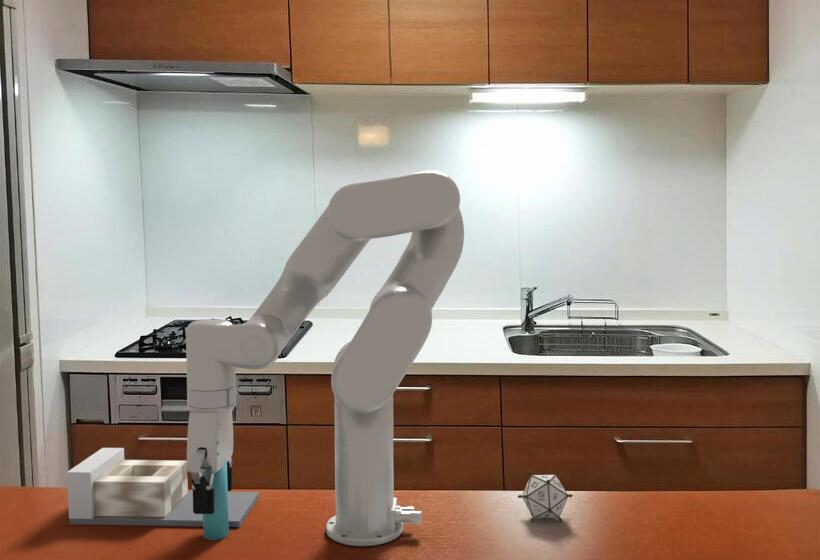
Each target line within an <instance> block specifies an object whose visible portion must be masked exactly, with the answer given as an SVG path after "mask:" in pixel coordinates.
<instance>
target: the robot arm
mask: <svg viewBox="0 0 820 560" xmlns="http://www.w3.org/2000/svg"><path fill="white" fill-rule="evenodd" d="M460 203H461V194H460V190H459V187H458V185H457V183H456V182H455V181H454V180H453V179H452V177H450V176H449V175H447V174H446V173H444V172H441V171H439V170H424V171H420V172H419V171H418V172H414V173H410V174H409V173H408V174H403V175H400V176H399V175H398V176H393V177H392V176H391V177H389V178H384V179H383V178H382V179H377V180H371V181H364V182H355V183H350V184H346V185H344V186H342V187H340V188H339V189H338V190H336V191H335V193H334V194H332V197H331V199H330V201H329V204H328V205H327V207H326V208H325V209H324V210H323V212H322V213H321V215H320V216H319V217H318V218H317V220H316V222H315V223H314V224H313V226H312V227H311V228H310V229H309V231H308V233H306V235H305V237H304V238H303V239H302V240H301V241H300V243H299V244H298V245H297V247H296V248H295V249H294V251H293V252H292V253H291V255H290V256H289V258H288V259H287V261H286V262H285V265H284V269H283V271H282V272H281V275H280V277H279V279H278V280H277V282H276V283H275V284H274V286H273V288H272V289H271V290H270V292H269V293H268V295H267V296H266V297H265V299H264V300H263V301H262V303H260V305H259V307H258V308H257V309H256V311H255V312H254V313H253V315H252V316H251V317H250V318H249V319H248V320H247V321H246V322H244V323H239V324H237V323H236V324H233V323H232V322H231V321H229V320H227V319H226V320H225V319H218V318H216V319H215V318H209V319H208V318H207V319H198V320H194V321H192V322H190V323H189V324H188V325H187V328H186V330H185V343H186V344H185V346H186V347H185V348H186V350H185V354H186V398H187V407H186V408H187V409H188V410H189V416H188V422H187V423H188V425H187V436H186V437H187V438H186V439H187V440H186V444H187V445H186V461H187V473H189V474H191V480H190V481H191V483H192V485H191V491H193V513H194V514H213V513H214V488H212V483H213V478H214V474H215V473H216V472H218V471H219V470H220V469H221V468H222V467H223V466H224V464H225V463H226V462H227V486H228V492H232V490H233V466H232V465H233V460H232V456H233V453H234V424H233V423H234V422H233V408H235V407H236V406H237V402H236V401H237V389H236V388H237V385H236V384H237V382H236V368H238V369H244V370H251V371H253V370H255V371H256V370H263V369H266V368H268V367H270V366H271V365H273V364H275V362H276V361H277V359H278V358H279V356H280V355H281V353H282V352H283V350H284V349H285V347H286V346H287V344H288V343H289V342H290V340H291V339H292V338H293V336H294V335H295V333H296V332H297V331H298V330H299V328H300V327H301V325H302V324H303V323H304V322H305V320H306V319H307V318H308V316H309V315H310V314H311V313H312V312H313V310H314V309H315V308H316V306H317V305H318V304H319V303H320V302H321V301H322V300H323V299H325V298H326V297H327V296H328V295H329V294H330V293H331V292H332V291H333V289H334V288H336V285H338V283H339V282H340V280H341V279H342V277H343V276H344V275H345V274H346V272H347V271H348V269H349V268H350V267H351V266H352V264H353V263H354V262H355V261H356V259H357V258H358V257H359V255H360V254H361V252H363V250H364V248H365V247H366V246H367V244H368V243H369V242H370V240H372V239H379V238H380V239H381V238H387V237H392V236H397V235H403V234H410V233H411V236H410V240H409V242H408V244H407V246H406V247H405V249H404V250H403V252H402V254H401V256H400V258H399V259H398V262H397V263H396V265H395V266H394V268H393V270H392V271H391V273H390V275H389V276H388V278H387V279H386V280H385V282H384V284H383V285H382V287H380V289H379V290H378V291H377V293H376V294H375V295H374V297H373V299H372V300H371V304H369V305H370V306H369V311H368V312H367V314H366V316H365V317H364V319H363V321H362V322H361V324H360V326H359V327H358V329H357V331H356V332H355V334H354V335H353V337H352V339H351V340H350V341H349V342H347V343H346V344H344V345H343V346H342V347H341V348H340V349H339V350H338V353H337V354H336V355H335V356H336V357H335V359H334V362H333V367H332V369H331V370H332V372H331V379H330V381H331V382H330V383H331V389H332V393H333V395H334V397H333V398H334V479H335V480H334V484H335V485H334V488H335V490H334V493H335V498H334V499H335V515H333V516H332V517H330V518H329V519H328V520H327V522H326V524H325V525H326V526H325V527H326V530H325V531H326V534H327V536H328V537H329V538H330V539H331V540H333V541H334V542H337V543H338V544H339V543H340V544H343V545H346V546H352V547H353V546H354V547H370V546H379V545H382V544H383V545H384V544H387V543H389V542H391V541H394V540H396V539H397V538H399V537H400V535H401V534H403V531H404V524H412V525H413V524H416V525H417V524H421V523H422V511H420V510H419V511H417V510H415V507H414V506H401V505H400V504H398V503H397V502H398V501H397V499H398V497H395V496H394V494H395V493H394V492H395V491H394V484H395V483H394V393H395V391H396V390H397V389H398V387H399V385H400V384H401V382H402V380H403V379H404V377H405V376H406V374H407V373H408V371H409V369H410V368H411V366H412V365H413V363H414V362H415V360H416V358H417V357H418V355H419V353H420V352H421V350H422V349H423V347H424V346H425V343H426V341H427V339H428V337H429V335H430V332H431V330H432V325H433V313H432V310H433V309H434V306H435V304H436V303H437V301H438V300H439V297H441V294H442V293H443V291H444V289H445V288H446V286H447V284H448V282H449V280H450V278H451V277H452V275H453V273H454V271H455V269H456V268H457V265H458V263H459V261H460V258H461V255H462V252H463V248H464V243H465V242H464V241H465V227H464V220H463V214H462V212H461V210H460V205H461V204H460ZM203 467H211V469H203ZM202 475H208V479H207V480H206V478H205V477H204V476H202Z"/></svg>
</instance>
